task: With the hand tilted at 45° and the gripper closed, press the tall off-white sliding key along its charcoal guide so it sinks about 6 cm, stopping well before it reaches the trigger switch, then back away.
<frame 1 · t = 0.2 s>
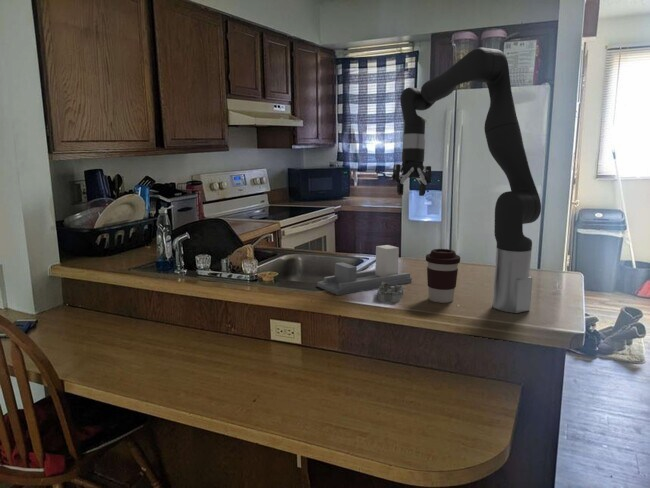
hand: (411, 195, 177), 29 cm above the table, tool pointing down, fingers open, 8 cm apart
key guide: (365, 284, 170), on the table
egg carton: (390, 298, 155), on the table
sliding key: (386, 261, 173), point 7 cm above the table, slide at 0.0 cm
trigger switch: (346, 273, 165), point 4 cm above the table
coffee cup: (440, 300, 153), on the table
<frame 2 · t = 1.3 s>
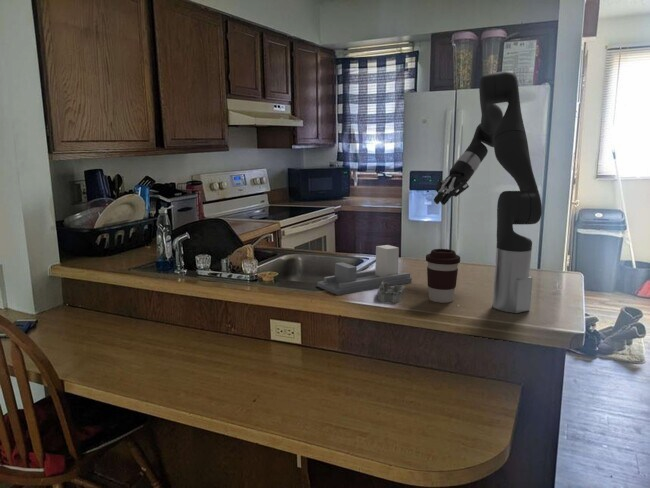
hand: (438, 202, 179), 26 cm above the table, tool tilted 45°, fingers closed
nothing on the table moved.
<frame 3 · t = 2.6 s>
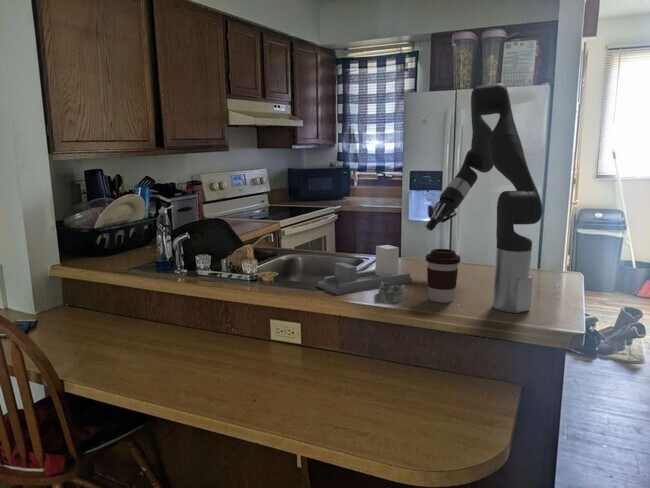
hand: (428, 228, 181), 17 cm above the table, tool tilted 45°, fingers closed
nothing on the table moved.
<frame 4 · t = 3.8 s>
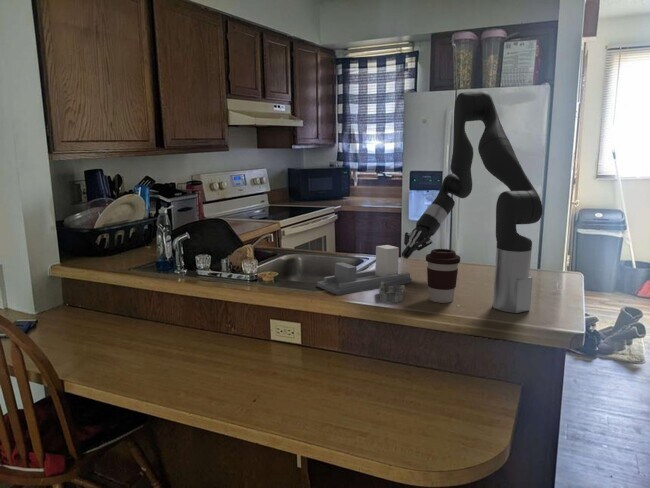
hand: (404, 257, 177), 7 cm above the table, tool tilted 45°, fingers closed
nothing on the table moved.
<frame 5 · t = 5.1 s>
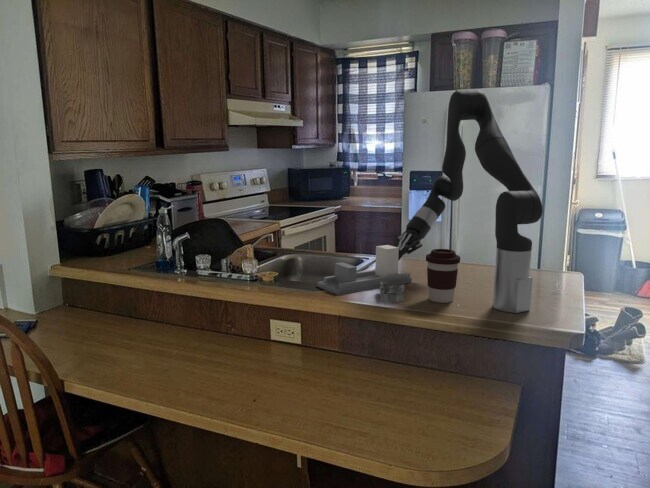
hand: (393, 260, 175), 7 cm above the table, tool tilted 45°, fingers closed
sliding key: (386, 261, 173), point 7 cm above the table, slide at 0.0 cm, touching gripper
everything else where it was.
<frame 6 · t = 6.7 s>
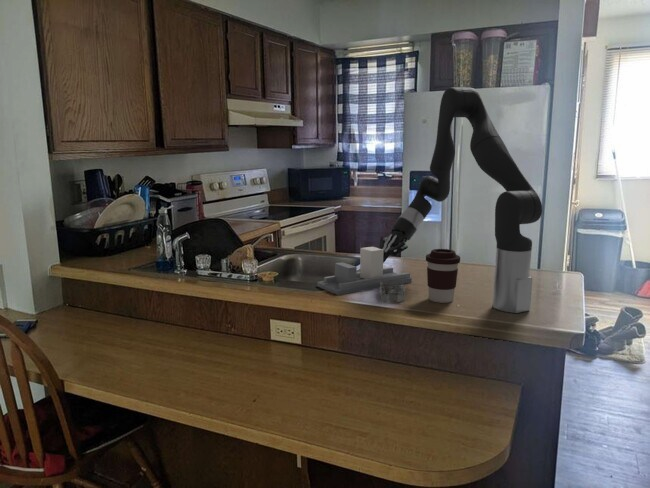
hand: (378, 262, 171), 7 cm above the table, tool tilted 45°, fingers closed
sliding key: (371, 263, 170), point 7 cm above the table, slide at 6.5 cm, touching gripper
everything else where it was.
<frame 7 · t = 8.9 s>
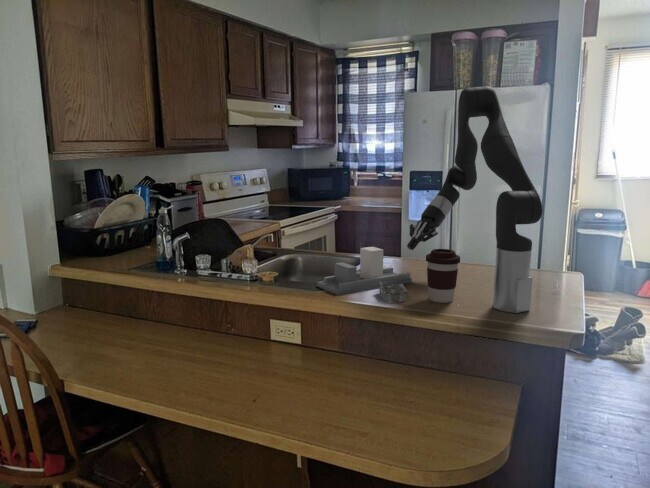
hand: (409, 248, 177), 10 cm above the table, tool tilted 45°, fingers closed
sliding key: (371, 263, 170), point 7 cm above the table, slide at 6.5 cm
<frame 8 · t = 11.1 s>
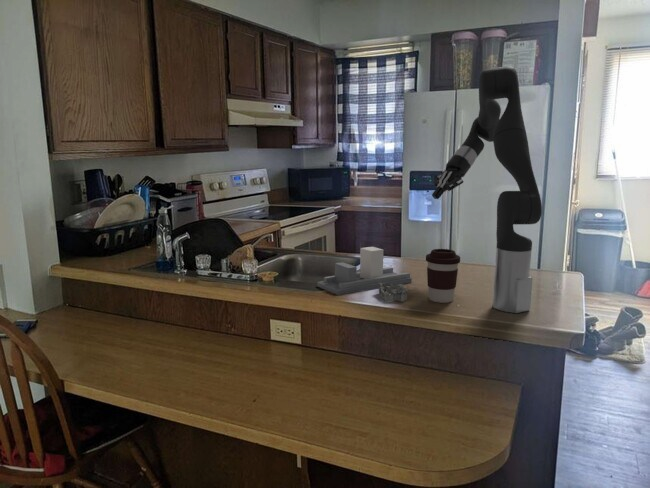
hand: (434, 197, 177), 28 cm above the table, tool tilted 45°, fingers closed
at the end: sliding key slide at 6.5 cm; sliding key touching nothing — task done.
